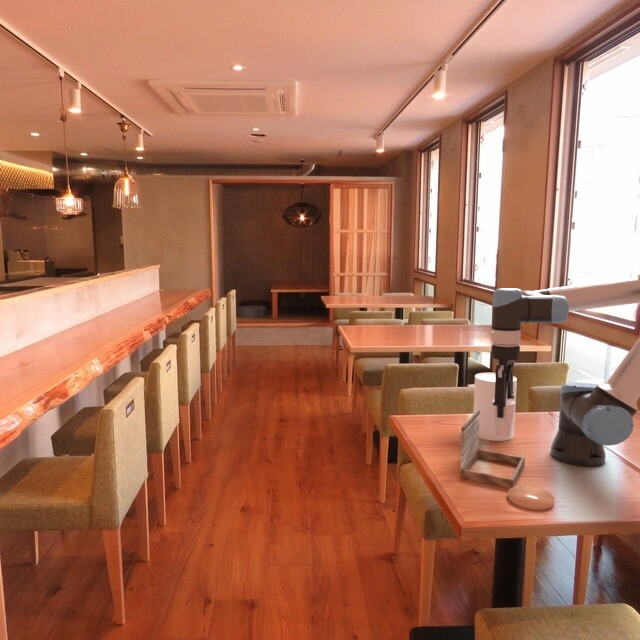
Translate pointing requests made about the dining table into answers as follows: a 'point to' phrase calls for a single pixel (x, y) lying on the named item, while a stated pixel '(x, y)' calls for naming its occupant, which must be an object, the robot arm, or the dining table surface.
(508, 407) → the smoothie
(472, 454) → the box
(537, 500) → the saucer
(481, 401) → the canister
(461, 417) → the dining table surface
